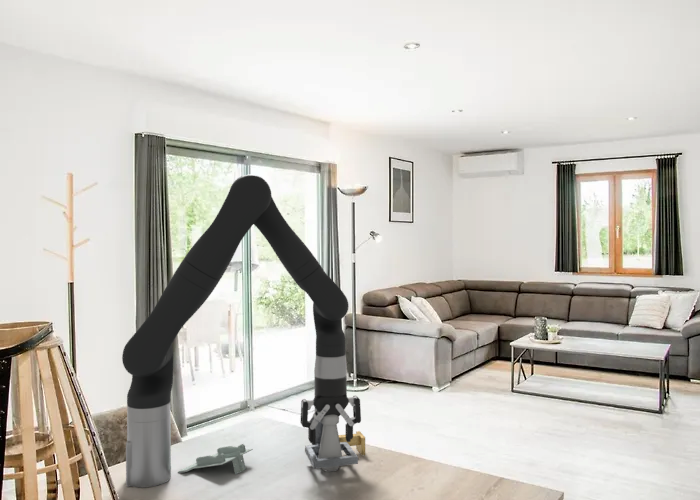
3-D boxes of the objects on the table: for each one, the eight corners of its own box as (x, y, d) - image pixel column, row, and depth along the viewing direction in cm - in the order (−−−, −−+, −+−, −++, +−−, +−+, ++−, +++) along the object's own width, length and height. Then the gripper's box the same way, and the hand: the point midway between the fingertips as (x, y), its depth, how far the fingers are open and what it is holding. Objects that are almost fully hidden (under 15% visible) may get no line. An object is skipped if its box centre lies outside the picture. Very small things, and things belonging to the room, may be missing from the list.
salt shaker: (332, 461, 141) (332, 408, 140) (347, 468, 136) (347, 413, 136) (313, 467, 137) (312, 412, 137) (327, 475, 132) (327, 418, 132)
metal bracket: (259, 438, 141) (217, 458, 128) (264, 462, 140) (222, 484, 127) (216, 445, 148) (172, 465, 135) (221, 468, 147) (177, 490, 134)
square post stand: (313, 478, 130) (313, 381, 130) (300, 451, 147) (300, 365, 147) (378, 471, 134) (378, 377, 134) (358, 446, 151) (358, 362, 151)
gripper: (303, 379, 131) (303, 450, 131) (364, 375, 134) (364, 445, 135) (298, 372, 138) (298, 439, 138) (355, 368, 142) (355, 434, 142)
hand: (330, 442), depth 136 cm, fingers open, 8 cm apart
